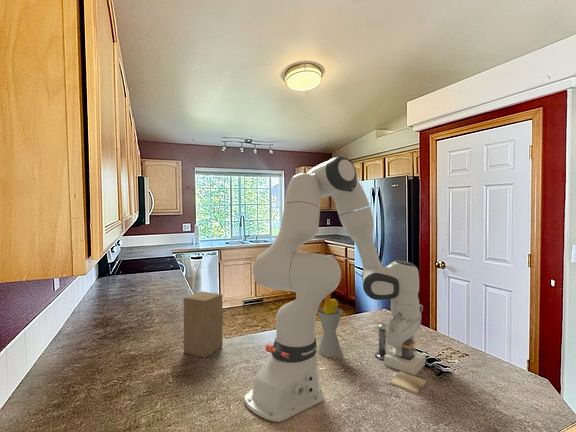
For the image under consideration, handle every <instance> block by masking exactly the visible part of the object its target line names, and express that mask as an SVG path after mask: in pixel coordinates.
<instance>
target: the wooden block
mask: <svg viewBox="0 0 576 432" xmlns="http://www.w3.org/2000/svg"><path fill="white" fill-rule="evenodd" d="M222 347H223V294H222V293H215V292H209V291H199V292H197V293H194V294H191V295H188V296H185V297H183V353H184V354H188V355H192V356H196V357H200V358H203V359H205V358H207V357H209V356H210V355H212V354H214V353H215V352H217V351H218V350H220V349H221V348H222Z"/></svg>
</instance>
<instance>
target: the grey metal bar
mask: <svg viewBox="0 0 576 432" xmlns="http://www.w3.org/2000/svg"><path fill="white" fill-rule="evenodd" d="M392 319H393V317H392V318H390V319H389V320H387V321H384V322H383V323H382V322H381V323H378V324H377V329H378V330H379V329H381V330H386V331H387V330H388V324H389V322H390V320H392Z"/></svg>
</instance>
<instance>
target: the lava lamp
mask: <svg viewBox="0 0 576 432" xmlns="http://www.w3.org/2000/svg"><path fill="white" fill-rule="evenodd" d="M326 255H327V256H330V257H334V258H335V256H334V254H326ZM332 293H333V292H331V293H330V294H328V295H327V296H326V297H325V298H324V305H323V306H322V307H318V310H317V314H318V318H319V321H320V323H321V327H322V329H323V331H322V332H323V333H322V335H321V339H320V342H319V345H318V348H317V353H318V354H319V355H321V356H323V357H326V358H337V357H340V355H342V349H341V345H340V342H339V338H338V335H337V332H336V331H337V328H338V325H339V323H340V321H341V316H342V315H343V310H342V309H341V308H339V307H338V306H339V302H338V300H337V299H335V298H331V296H332Z"/></svg>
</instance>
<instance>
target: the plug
mask: <svg viewBox="0 0 576 432" xmlns="http://www.w3.org/2000/svg"><path fill="white" fill-rule="evenodd" d="M414 346H416V342H415V341H414V339H413V340H411V339H408V340H407V341H405V342H404V343H403V344H402V346H401V347H402V350H403V355H402V356H401V357H400V356H397V357H400V358H403V359H406V360H411V359H412V358H413V355H414Z"/></svg>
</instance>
